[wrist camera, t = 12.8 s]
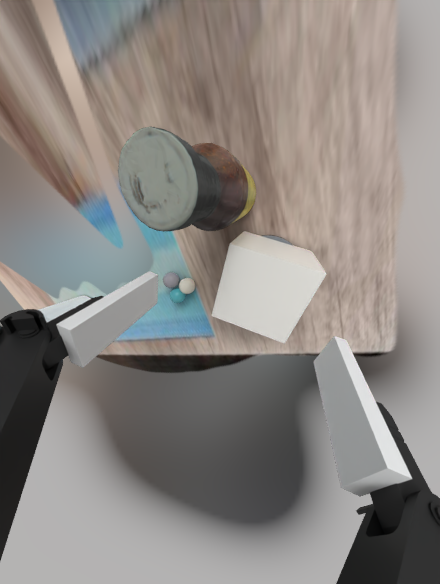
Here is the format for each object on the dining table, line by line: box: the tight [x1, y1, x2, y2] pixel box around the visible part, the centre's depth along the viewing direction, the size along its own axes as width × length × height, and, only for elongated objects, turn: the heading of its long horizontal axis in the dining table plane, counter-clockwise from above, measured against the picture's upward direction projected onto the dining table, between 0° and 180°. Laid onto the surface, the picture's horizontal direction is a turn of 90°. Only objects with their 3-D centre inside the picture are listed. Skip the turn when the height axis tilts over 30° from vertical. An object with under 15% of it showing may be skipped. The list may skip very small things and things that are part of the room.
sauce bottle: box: [118, 127, 256, 231], centre depth 16 cm, size 6×6×20 cm
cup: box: [39, 295, 91, 322], centre depth 40 cm, size 10×10×13 cm
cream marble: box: [179, 278, 195, 294], centre depth 32 cm, size 3×3×3 cm
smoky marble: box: [163, 272, 180, 288], centre depth 33 cm, size 3×3×3 cm
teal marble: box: [170, 288, 186, 303], centre depth 34 cm, size 3×3×3 cm
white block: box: [212, 231, 327, 344], centre depth 24 cm, size 10×10×9 cm
